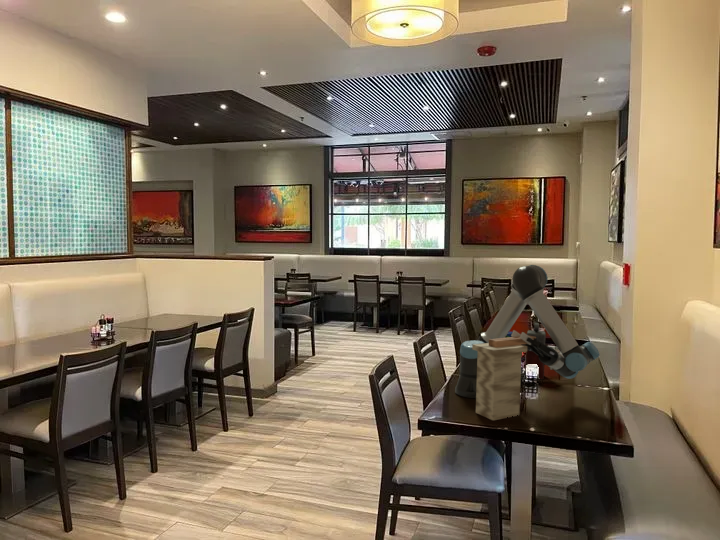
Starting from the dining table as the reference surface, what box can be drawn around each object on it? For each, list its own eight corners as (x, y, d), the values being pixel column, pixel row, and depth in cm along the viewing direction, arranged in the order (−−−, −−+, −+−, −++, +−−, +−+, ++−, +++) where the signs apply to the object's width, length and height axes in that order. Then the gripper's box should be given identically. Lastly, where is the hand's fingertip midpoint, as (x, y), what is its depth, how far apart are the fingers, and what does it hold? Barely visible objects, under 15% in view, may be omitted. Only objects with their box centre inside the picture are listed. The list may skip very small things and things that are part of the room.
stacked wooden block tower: (470, 412, 208) (472, 344, 207) (503, 406, 217) (505, 340, 215) (490, 422, 198) (493, 350, 196) (524, 415, 206) (527, 346, 205)
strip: (488, 345, 206) (488, 339, 205) (528, 341, 216) (528, 335, 216) (495, 347, 202) (495, 341, 202) (535, 342, 212) (536, 337, 212)
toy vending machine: (548, 380, 259) (550, 325, 257) (525, 377, 263) (527, 323, 261) (548, 376, 267) (550, 322, 266) (526, 373, 271) (528, 321, 270)
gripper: (563, 370, 212) (529, 346, 202) (532, 361, 227) (498, 338, 217) (570, 353, 213) (536, 329, 203) (538, 346, 228) (505, 322, 218)
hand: (517, 334), depth 210 cm, fingers closed on strip, 4 cm apart
